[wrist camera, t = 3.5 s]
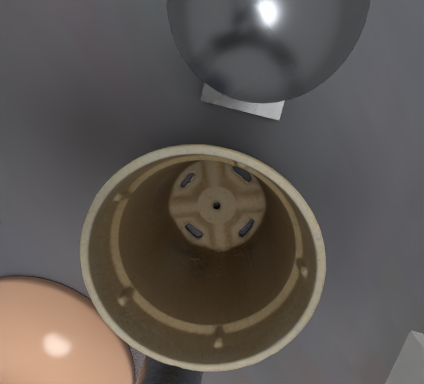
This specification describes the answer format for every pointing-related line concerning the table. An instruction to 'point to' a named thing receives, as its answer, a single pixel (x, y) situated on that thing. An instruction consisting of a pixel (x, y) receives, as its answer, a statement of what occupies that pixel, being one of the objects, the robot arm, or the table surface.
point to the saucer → (57, 337)
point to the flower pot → (202, 258)
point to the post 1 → (166, 374)
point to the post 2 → (264, 47)
